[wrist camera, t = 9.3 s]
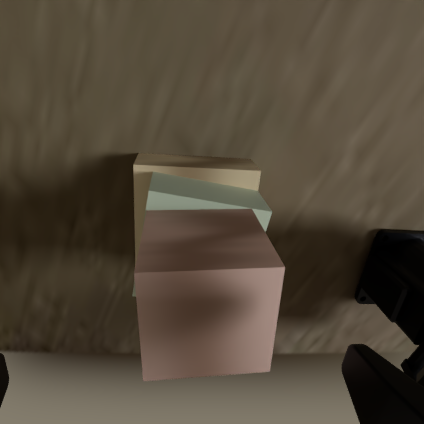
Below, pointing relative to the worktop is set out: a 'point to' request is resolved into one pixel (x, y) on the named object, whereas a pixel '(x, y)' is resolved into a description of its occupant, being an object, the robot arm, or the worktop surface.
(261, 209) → the sage top block
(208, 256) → the rose cube
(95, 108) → the worktop surface
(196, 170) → the beech base block
